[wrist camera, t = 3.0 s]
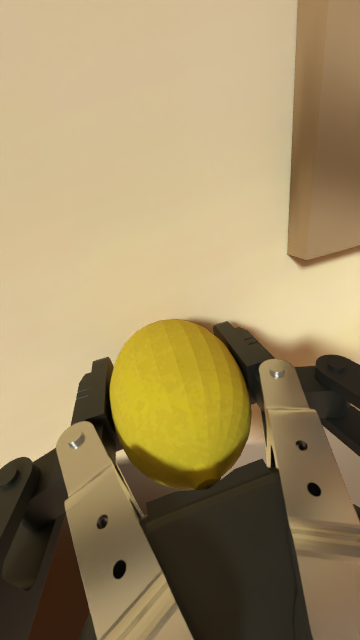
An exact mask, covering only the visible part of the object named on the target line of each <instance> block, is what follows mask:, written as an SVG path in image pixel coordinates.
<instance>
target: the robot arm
mask: <svg viewBox="0 0 360 640" xmlns="http://www.w3.org/2000/svg"><path fill="white" fill-rule="evenodd" d="M213 330H214V335H215V336H216V337H217V338H219V339H220V340H221V341H222V342H223V343H224V345H225V346H226V347H227V349H228V350H229V352H230V353H231V355H232V356H233V358H234V359H235V361H236V362H237V364H238V366H239V368H240V370H241V372H242V375H243V377H244V380H245V383H246V387H247V391H248V395H249V399H250V404H254V403H257V404H258V405H259V407H260V415H261V422H262V429H263V436H264V442H265V449H266V457H267V466H266V464H265V462H264V461H263V459H260V460H257V461H255V462H252V463H249V464H247V465H244V466H242V467H239V468H237V469H234V470H233V471H232V472H231V473H229V474H228V475H227V476H225V477H224V478H223V479H221V480H220V481H219V482H218V483H216V484H215V485H214V486H212V487H211V488H209V489H205V490H191V491H177V492H174V493H171V494H168V495H166V496H163V497H161V498H158V499H155V500H153V501H150V502H148V503H146V506H147V514H146V515H145V516H144V515H143V514H142V512H141V510H140V508H139V507H138V505H137V503H136V501H135V499H134V497H133V495H132V493H131V491H130V489H129V487H128V485H127V483H126V481H125V479H124V477H123V475H122V473H121V471H120V469H119V467H118V465H117V464H116V451H119V450H122V449H123V447H122V445H121V443H120V441H119V439H118V436H117V434H116V430H115V427H114V423H113V419H112V412H111V403H110V382H111V377H112V373H113V369H114V366H113V364H112V362H111V360H110V358H109V357H106V358H103V359H99V360H96V361H93V365H92V372H91V373H88V374H85V375H84V377H83V378H82V380H81V381H80V383H79V387H78V393H77V397H76V399H77V400H76V402H75V407H74V412H73V417H72V422H71V426H70V427H69V428H68V429H67V430H65V431H64V432H63V434H62V435H61V436H60V438H59V439H58V442H57V445H56V448H55V449H53V450H52V451H50V452H49V453H47V454H45V455H44V456H42V457H41V458H39V459H37V460H36V461H34V462H32V461H31V460H30V459H29V458H27V457H21V458H17V459H15V460H13V461H11V462H9V463H8V464H6V465H5V466H4V467H2V468H1V469H0V640H28V637H29V634H30V631H31V627H32V624H33V621H34V617H35V614H36V611H37V607H38V604H39V601H40V597H41V594H42V591H43V587H44V584H45V581H46V577H47V574H48V570H49V567H50V564H51V561H52V557H53V554H54V551H55V548H56V544H57V541H58V538H59V534H60V531H61V527H62V524H63V521H64V518H65V515H67V519H68V522H69V527H70V531H71V535H72V539H73V543H74V547H75V551H76V555H77V559H78V564H79V567H80V572H81V575H82V580H83V584H84V588H85V592H86V596H87V600H88V604H89V608H90V614H89V617H88V619H87V621H86V624H85V626H84V628H83V630H82V633H81V635H80V637H79V639H78V640H360V508H359V507H358V506H356V505H354V504H353V503H352V501H351V498H350V496H349V493H348V491H347V488H346V486H345V483H344V480H343V478H342V475H341V473H340V470H339V468H338V465H337V462H336V460H335V457H334V455H333V452H332V449H331V447H330V444H329V442H328V439H327V437H326V434H325V432H324V429H323V426H324V427H325V428H326V429H328V430H329V431H330V432H331V433H333V434H334V435H335V436H336V437H337V438H338V439H339V440H341V441H342V442H343V443H344V444H345V445H347V446H348V447H349V448H350V449H351V450H353V451H354V452H355V453H356V454H357V455H358V456H360V411H359V410H357V409H356V408H354V407H353V406H351V405H350V403H351V404H353V405H354V406H356V407H357V408H359V409H360V365H359V364H357V363H355V362H353V361H351V360H349V359H347V358H345V357H342V356H338V355H324V356H321V357H320V358H318V359H317V361H316V366H308V367H293V365H291V364H290V363H289V362H287V361H284V360H281V359H275V358H274V357H273V356H272V355H271V354H270V353H269V352H268V351H267V350H266V349H265V348H264V347H263V346H262V345H261V344H260V343H259V342H258V341H257V340H256V339H255V338H253V336H252V335H251V334H250V333H249V332H248V331H247V330H244V329H242V328H240V327H238V328H235V329H234V328H233V327H232V326H231V325H230V323H229V322H227V321H226V322H223V323H219V324H216V325H214V326H213ZM322 425H323V426H322ZM19 525H20V526H19ZM16 532H17V533H16ZM13 539H14V540H13ZM10 546H11V547H10ZM7 553H8V554H7Z"/></svg>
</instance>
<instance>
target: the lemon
mask: <svg viewBox="0 0 360 640" xmlns="http://www.w3.org/2000/svg"><path fill="white" fill-rule="evenodd" d="M110 403H111V412H112V419H113V423H114V427H115V430H116V434H117V436H118V439H119V441H120V443H121V445H122V447H123V449H124V451H125V453H126V455H127V456H128V458H129V460H130V461H131V462H132V464H133V465H134V466H135V467H136V468H138V470H140V471H141V472H142V473H143V474H144V475H146V476H147V477H148V478H150V479H152V480H154V481H156V482H158V483H160V484H163V485H165V486H169V487H173V488H179V489H187V488H193V489H195V490H205V489H209V488H211V487H212V486H214V485H215V484H216V483H218V482H219V481H220V479H221V476H223V475H224V474H225V473H226V472H227V471H228V470H230V469H231V468H232V466H233V465H234V464H235V462H236V461H237V460H238V458H239V457H240V455H241V453H242V451H243V449H244V446H245V444H246V442H247V439H248V436H249V432H250V425H251V404H250V399H249V395H248V391H247V387H246V383H245V380H244V377H243V375H242V372H241V370H240V368H239V366H238V364H237V362H236V361H235V359H234V358H233V356H232V355H231V353H230V352H229V350H228V349H227V347H226V346H225V345H224V343H223V342H222V341H221V340H220V339H219V338H217V337H216V336H215V335H213V334H212V333H211V332H209V331H208V330H207V329H206V328H204V327H202V326H200V325H197V324H195V323H192V322H190V321H186V320H178V319H170V320H161V321H158V322H155V323H152V324H149V325H147V326H145V327H144V328H142V329H141V330H139V331H137V332H136V333H135V334H134V335H133V336H132V337H131V338H130V339H129V340H128V341H127V342H126V343H125V345H124V346H123V348H122V350H121V352H120V353H119V355H118V357H117V359H116V362H115V365H114V369H113V373H112V377H111V382H110Z"/></svg>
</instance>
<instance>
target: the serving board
mask: <svg viewBox="0 0 360 640" xmlns="http://www.w3.org/2000/svg"><path fill="white" fill-rule="evenodd" d="M359 245H360V0H298V17H297V40H296V64H295V88H294V111H293V135H292V158H291V182H290V205H289V229H288V253H287V254H288V255H292V256H295V257H298V258H301V259H304V260H310V259H313V258H317V257H320V256H324V255H327V254H331V253H335V252H338V251H342V250H345V249H349V248H352V247H356V246H359Z"/></svg>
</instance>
